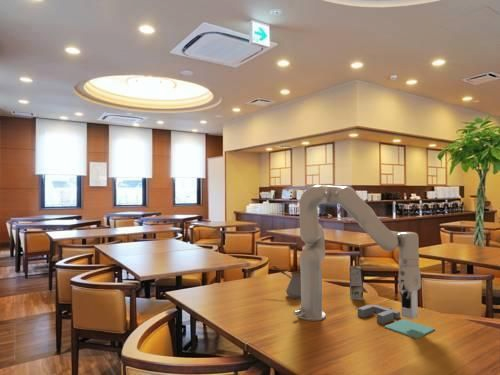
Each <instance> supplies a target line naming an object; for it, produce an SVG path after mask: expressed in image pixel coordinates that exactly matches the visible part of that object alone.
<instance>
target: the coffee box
mask: <svg viewBox="0 0 500 375" xmlns="http://www.w3.org/2000/svg"><path fill="white" fill-rule="evenodd" d="M349 296H350V297H349V298H350V300H355V301H364V269H363V267H362V266H361V265H349Z"/></svg>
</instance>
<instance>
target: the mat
mask: <svg viewBox="0 0 500 375" xmlns="http://www.w3.org/2000/svg"><path fill="white" fill-rule="evenodd" d="M383 328H384V329H386V330H389V331H392V332H396V333H398V334H402V335H405V336H408V337H410V338H414V339H416V340H417V339H420V338H422V337H424V336H426V335H427V334H430V333H432V332H434V331H435V330H436V329H435V328H434V327H430V326H427V325H424V324H420V323H418V322H414V321H411V320H408V319H405V318H401V319H399V320H396V321H394V322H392V323H390V324H386V325H384V327H383Z"/></svg>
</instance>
